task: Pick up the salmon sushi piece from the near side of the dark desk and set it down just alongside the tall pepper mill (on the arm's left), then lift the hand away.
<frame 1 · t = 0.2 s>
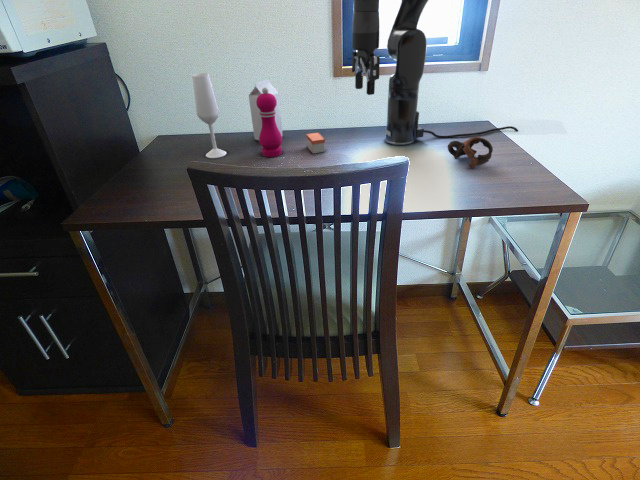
hand: (364, 91, 115), 17 cm above the table, tool pointing down, fingers open, 8 cm apart
brown looped ring: (467, 162, 111), on the table
sushi: (315, 149, 125), on the table
milk carton: (268, 139, 135), on the table
champagne flute: (216, 154, 124), on the table
pepper mill: (272, 154, 123), on the table
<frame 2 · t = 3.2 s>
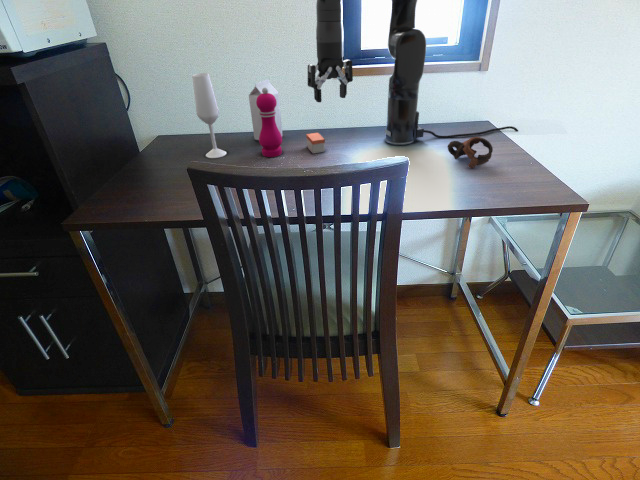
hand: (330, 99, 116), 15 cm above the table, tool pointing down, fingers open, 8 cm apart
nothing on the table moved.
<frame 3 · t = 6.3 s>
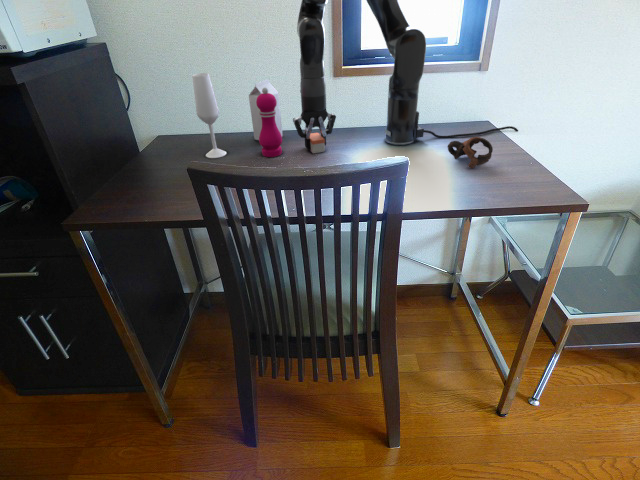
hand: (315, 147, 124), 0 cm above the table, tool pointing down, fingers closed on sushi, 4 cm apart
sushi: (315, 149, 125), on the table, touching gripper
everything else where it was.
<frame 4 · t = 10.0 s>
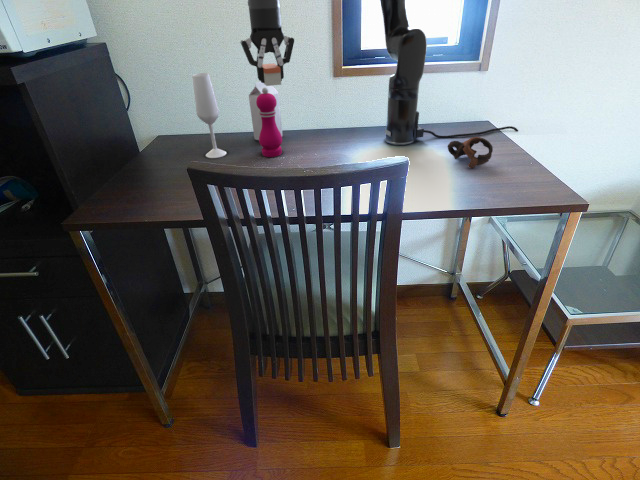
hand: (271, 81, 102), 23 cm above the table, tool pointing down, fingers closed on sushi, 4 cm apart
sushi: (271, 83, 102), point 23 cm above the table, touching gripper
everything else where it was.
when the fingers open (0 cm above the table, at t = 14.2 s): sushi stays where it is, on the table.
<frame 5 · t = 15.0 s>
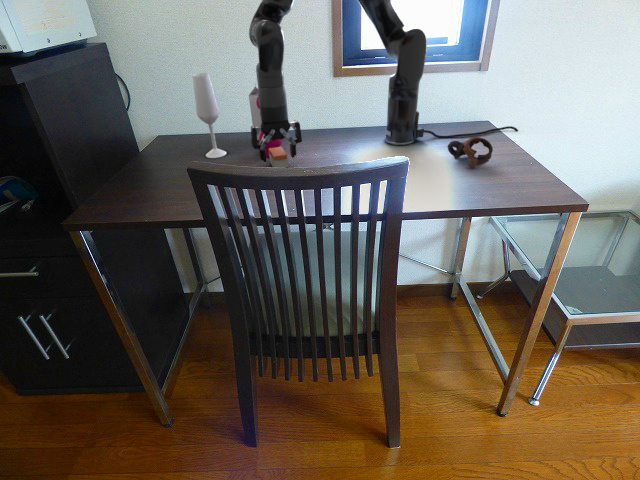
hand: (278, 159, 114), 2 cm above the table, tool pointing down, fingers open, 8 cm apart
sushi: (278, 164, 115), on the table
everything else where it was.
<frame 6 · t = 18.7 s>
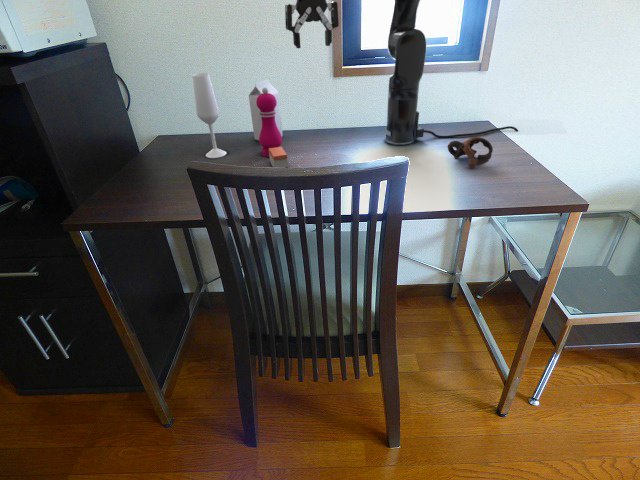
hand: (313, 46, 106), 30 cm above the table, tool pointing down, fingers open, 8 cm apart
nothing on the table moved.
at the end: sushi inside the target area on the table beside the pepper mill (0.5 cm from its centre), on the table; sushi tilted 0°; pepper mill moved 0.2 cm from its start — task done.
